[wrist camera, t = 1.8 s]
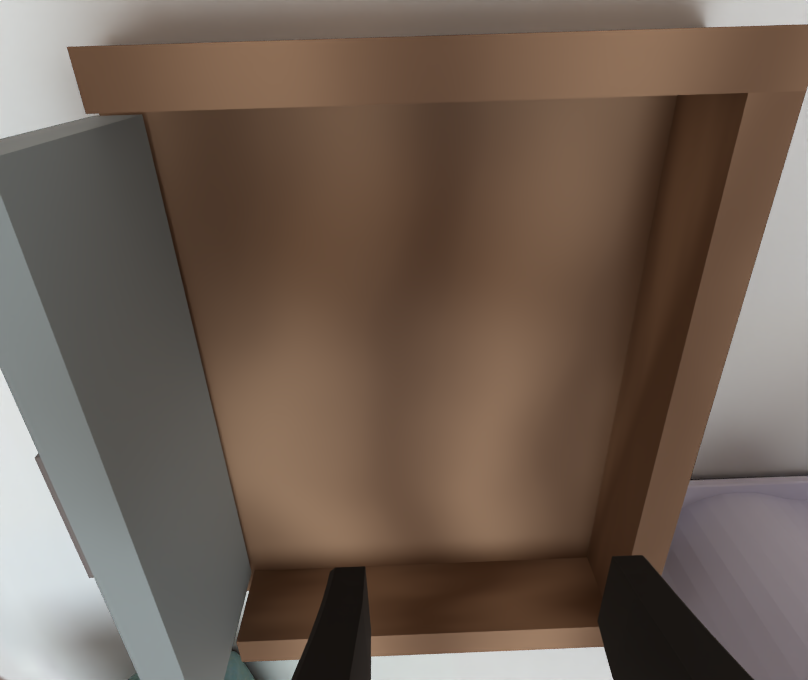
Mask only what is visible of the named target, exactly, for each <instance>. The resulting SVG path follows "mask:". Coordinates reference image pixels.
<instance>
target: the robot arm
mask: <svg viewBox="0 0 808 680" xmlns="http://www.w3.org/2000/svg"><path fill="white" fill-rule="evenodd" d="M597 622H598V625H599V629H600V633H601V637H602V641H603V644H604V648H605V652H606V656H607V659H608V663H609V666H610V670H611V673H612V677H613V679H614V680H808V476H789V477H763V478H738V479H712V480H690V482H689V485H688V488H687V492H686V495H685V498H684V502H683V505H682V508H681V512H680V515H679V519H678V522H677V525H676V529H675V532H674V535H673V539H672V542H671V545H670V549H669V552H668V555H667V559H666V562H665V565H664V569H663V572H662V576H661V575H660V574H659V573H658V572H657V571H656V569H655V568H654V567H653V566H652V565H651V564H650V562H649V561H648V560H647V559H646V558H645V557H644V556H643V555H630V556H612V559H611V563H610V567H609V572H608V576H607V581H606V585H605V589H604V594H603V598H602V603H601V607H600V611H599V616H598V620H597ZM291 680H371V623H370V612H369V600H368V589H367V578H366V567H365V566H359V567H335V568H334V569H333V570H331V571H330V573H329V577H328V581H327V585H326V589H325V592H324V595H323V599H322V602H321V605H320V608H319V611H318V614H317V617H316V619H315V622H314V625H313V627H312V630H311V633H310V636H309V638H308V641H307V643H306V646H305V648H304V650H303V653H302V655H301V658H300V660H299V662H298V665H297V667H296V670H295V672H294V675H293V677H292V679H291Z"/></svg>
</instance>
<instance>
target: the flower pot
mask: <svg viewBox="0 0 808 680" xmlns="http://www.w3.org/2000/svg"><path fill="white" fill-rule="evenodd" d="M128 680H140V679H139V676H138V674H137V673H136V674H135V675H133V676H132V677H131V678H129V679H128ZM224 680H255V679H254V677H253V676H252V674H251V672H250V671H249V669H248V668H247V666H246V665H245V663H244V662H242V660H241V657H240V655H239V654H238V653H236V652H234V651H231V654H230V658H229V662H228V666H227V670H226V674H225V677H224Z"/></svg>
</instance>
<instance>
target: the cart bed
mask: <svg viewBox="0 0 808 680" xmlns="http://www.w3.org/2000/svg"><path fill="white" fill-rule="evenodd" d="M67 49H68V53H69V56H70V60H71V63H72V67H73V70H74V74H75V77H76V81H77V84H78V88H79V91H80V95H81V98H82V102H83V105H84V109H85V112H86V114H95V113H99V115H100V116H109V115H141V114H142V116H143V120H144V124H145V128H146V133H147V137H148V141H149V145H150V149H151V154H152V158H153V162H154V166H155V170H156V174H157V179H158V183H159V187H160V191H161V195H162V200H163V204H164V208H165V212H166V216H167V220H168V225H169V229H170V233H171V237H172V241H173V246H174V250H175V254H176V258H177V262H178V267H179V271H180V275H181V279H182V283H183V287H184V292H185V296H186V300H187V304H188V308H189V313H190V317H191V321H192V325H193V329H194V333H195V338H196V342H197V346H198V350H199V354H200V359H201V363H202V367H203V371H204V375H205V380H206V384H207V388H208V392H209V396H210V400H211V405H212V409H213V413H214V417H215V421H216V426H217V430H218V434H219V438H220V442H221V446H222V451H223V455H224V459H225V463H226V467H227V472H228V476H229V480H230V484H231V488H232V493H233V497H234V501H235V505H236V509H237V513H238V518H239V522H240V526H241V530H242V534H243V539H244V543H245V547H246V551H247V555H248V559H249V564H250V568H251V576H250V580H249V584H248V588H247V591H249V594H248V598H247V602H246V606H245V610H244V614H243V618H242V622H241V626H240V630H239V634H238V638H237V646H238V650H239V653H240V657H241V660H242V662H253V661H276V660H300V658H301V655H302V653H303V650H304V648H305V646H306V643H307V641H308V638H309V636H310V633H311V630H312V627H313V625H314V622H315V619H316V617H317V614H318V611H319V608H320V605H321V602H322V599H323V595H324V592H325V589H326V585H327V581H328V577H329V573H330V571H331V570H333V569H334V568H335V567H359V566H365V567H366V578H367V589H368V600H369V612H370V623H371V656H394V655H418V654H442V653H465V652H489V651H512V650H536V649H560V648H583V647H604V644H603V641H602V637H601V633H600V629H599V625H598V622H597V620H598V616H599V611H600V607H601V603H602V598H603V594H604V589H605V585H606V581H607V576H608V572H609V567H610V563H611V559H612V556H630V555H643V556H644V557H645V558H646V559H647V560H648V561H649V562H650V564H651V565H652V566H653V567H654V568H655V569H656V571H657V572H658V573H659V574H660V575H661V576H662V572H663V569H664V565H665V562H666V559H667V555H668V552H669V549H670V545H671V542H672V539H673V535H674V532H675V529H676V525H677V522H678V519H679V515H680V512H681V508H682V505H683V502H684V498H685V495H686V492H687V488H688V485H689V482H690V478H691V475H692V472H693V468H694V465H695V462H696V458H697V455H698V452H699V448H700V445H701V441H702V438H703V435H704V431H705V428H706V425H707V421H708V418H709V415H710V411H711V408H712V405H713V401H714V398H715V395H716V391H717V388H718V384H719V381H720V378H721V374H722V371H723V368H724V364H725V361H726V358H727V354H728V351H729V348H730V344H731V341H732V338H733V334H734V331H735V328H736V324H737V321H738V317H739V314H740V311H741V307H742V304H743V301H744V297H745V294H746V291H747V287H748V284H749V281H750V277H751V274H752V271H753V267H754V264H755V260H756V257H757V254H758V250H759V247H760V244H761V240H762V237H763V234H764V230H765V227H766V224H767V220H768V217H769V214H770V210H771V207H772V204H773V200H774V197H775V193H776V190H777V187H778V183H779V180H780V177H781V173H782V170H783V167H784V163H785V160H786V157H787V153H788V150H789V147H790V143H791V140H792V136H793V133H794V130H795V126H796V123H797V120H798V116H799V113H800V110H801V106H802V103H803V100H804V96H805V93H806V90H807V86H808V25H774V26H741V27H708V28H675V29H642V30H609V31H576V32H543V33H510V34H477V35H444V36H411V37H378V38H345V39H312V40H279V41H245V42H212V43H179V44H146V45H113V46H80V47H67Z"/></svg>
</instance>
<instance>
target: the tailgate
mask: <svg viewBox="0 0 808 680" xmlns="http://www.w3.org/2000/svg"><path fill="white" fill-rule="evenodd" d="M0 368H1V371H2V373H3V375H4V377H5V379H6V382H7V384H8V386H9V388H10V391H11V393H12V395H13V397H14V400H15V402H16V404H17V406H18V408H19V411H20V413H21V415H22V417H23V420H24V422H25V424H26V426H27V429H28V431H29V433H30V435H31V438H32V440H33V442H34V444H35V446H36V449H37V451H38V454H37V456H36V457H35V460H36V462H37V464H38V466H39V468H40V471H41V473H42V475H43V477H44V479H45V482H46V484H47V486H48V488H49V490H50V493H51V495H52V497H53V499H54V501H55V504H56V506H57V508H58V510H59V512H60V515H61V517H62V519H63V521H64V523H65V526H66V528H67V530H68V532H69V534H70V537H71V539H72V541H73V543H74V545H75V548H76V550H77V552H78V554H79V556H80V559H81V561H82V563H83V565H84V567H85V570H86V572H87V574H88V576H89V578H95V580H96V583H97V585H98V587H99V589H100V592H101V594H102V596H103V598H104V601H105V603H106V605H107V607H108V609H109V612H110V614H111V616H112V618H113V621H114V623H115V625H116V627H117V630H118V632H119V634H120V636H121V638H122V641H123V643H124V645H125V647H126V650H127V652H128V654H129V656H130V659H131V661H132V663H133V665H134V668H135V670H136V672H137V674H138V676H139V679H140V680H224V677H225V674H226V670H227V666H228V662H229V658H230V654H231V650H232V646H233V642H234V639H235V635H236V631H237V627H238V623H239V619H240V615H241V611H242V607H243V604H244V600H245V596H246V592H247V588H248V584H249V580H250V576H251V568H250V564H249V559H248V555H247V551H246V547H245V543H244V539H243V534H242V530H241V526H240V522H239V518H238V513H237V509H236V505H235V501H234V497H233V493H232V488H231V484H230V480H229V476H228V472H227V467H226V463H225V459H224V455H223V451H222V446H221V442H220V438H219V434H218V430H217V426H216V421H215V417H214V413H213V409H212V405H211V400H210V396H209V392H208V388H207V384H206V380H205V375H204V371H203V367H202V363H201V359H200V354H199V350H198V346H197V342H196V338H195V333H194V329H193V325H192V321H191V317H190V313H189V308H188V304H187V300H186V296H185V292H184V287H183V283H182V279H181V275H180V271H179V267H178V262H177V258H176V254H175V250H174V246H173V241H172V237H171V233H170V229H169V225H168V220H167V216H166V212H165V208H164V204H163V200H162V195H161V191H160V187H159V183H158V179H157V174H156V170H155V166H154V162H153V158H152V154H151V149H150V145H149V141H148V137H147V133H146V128H145V124H144V120H143V116H142V114H141V115H109V116H92V117H88V118H84V119H80V120H76V121H72V122H67V123H63V124H59V125H55V126H51V127H47V128H43V129H39V130H35V131H31V132H27V133H23V134H19V135H15V136H11V137H7V138H3V139H0Z"/></svg>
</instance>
